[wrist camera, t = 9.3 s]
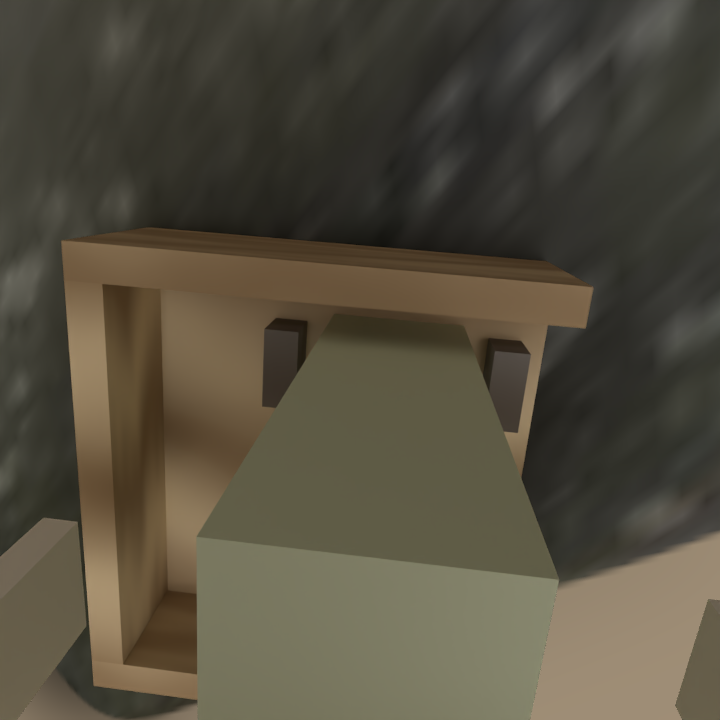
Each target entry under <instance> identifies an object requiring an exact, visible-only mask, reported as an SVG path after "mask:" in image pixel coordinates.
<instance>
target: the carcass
mask: <svg viewBox="0 0 720 720" xmlns="http://www.w3.org/2000/svg"><path fill="white" fill-rule="evenodd" d="M61 244H62V258H63V272H64V285H65V299H66V313H67V326H68V340H69V353H70V367H71V381H72V394H73V408H74V421H75V435H76V449H77V462H78V476H79V490H80V503H81V517H82V530H83V544H84V558H85V571H86V585H87V599H88V612H89V626H90V639H91V653H92V667H93V680H94V686H100V687H107V688H114V689H122V690H129V691H136V692H144V693H151V694H158V695H166V696H173V697H181V698H188V699H195V700H198V691H197V556H196V537H197V535H198V533H199V532H200V530H201V529H202V527H203V525H204V524H205V522H206V520H207V519H208V517H209V516H210V514H211V512H212V511H213V509H214V507H215V506H216V504H217V503H218V501H219V499H220V498H221V496H222V495H223V493H224V491H225V490H226V488H227V486H228V485H229V483H230V482H231V480H232V478H233V477H234V475H235V473H236V472H237V470H238V469H239V467H240V465H241V464H242V462H243V461H244V459H245V457H246V456H247V454H248V452H249V451H250V449H251V448H252V446H253V444H254V443H255V441H256V440H257V438H258V436H259V435H260V433H261V431H262V430H263V428H264V427H265V425H266V423H267V422H268V420H269V418H270V417H271V415H272V414H273V412H274V410H275V409H276V407H277V406H278V404H279V402H280V401H281V399H282V397H283V396H284V394H285V393H286V391H287V389H288V388H289V386H290V384H291V383H292V381H293V380H294V378H295V376H296V375H297V373H298V372H299V370H300V368H301V367H302V365H303V363H304V362H305V360H306V359H307V357H308V355H309V354H310V352H311V351H312V349H313V347H314V346H315V344H316V342H317V341H318V339H319V338H320V336H321V334H322V333H323V331H324V329H325V328H326V326H327V325H328V323H329V321H330V320H331V318H332V317H333V315H334V314H343V315H354V316H365V317H375V318H386V319H397V320H408V321H418V322H429V323H440V324H451V325H461V326H464V327H465V329H466V332H467V335H468V337H469V340H470V343H471V345H472V348H473V351H474V353H475V356H476V359H477V362H478V364H479V367H480V370H481V372H482V375H483V378H484V380H485V383H486V386H487V388H488V391H489V394H490V396H491V399H492V402H493V404H494V407H495V410H496V412H497V415H498V418H499V420H500V423H501V426H502V428H503V431H504V434H505V436H506V439H507V442H508V444H509V447H510V450H511V452H512V455H513V458H514V460H515V463H516V466H517V468H518V471H519V474H520V476H522V470H523V465H524V459H525V453H526V447H527V442H528V436H529V430H530V425H531V419H532V413H533V407H534V402H535V396H536V390H537V384H538V379H539V373H540V367H541V361H542V356H543V350H544V344H545V339H546V333H547V327H548V325H554V326H565V327H576V328H586V324H587V318H588V313H589V308H590V303H591V298H592V293H593V288H594V287H592V286H591V285H589V284H587V283H585V282H583V281H582V280H580V279H578V278H576V277H574V276H572V275H571V274H569V273H567V272H565V271H563V270H562V269H560V268H558V267H556V266H554V265H552V264H551V263H549V262H547V261H538V260H526V259H514V258H503V257H491V256H479V255H468V254H456V253H444V252H433V251H421V250H409V249H397V248H386V247H374V246H362V245H351V244H339V243H327V242H316V241H304V240H292V239H280V238H269V237H257V236H245V235H234V234H222V233H210V232H199V231H187V230H175V229H163V228H152V227H147V228H140V229H134V230H127V231H120V232H114V233H107V234H100V235H94V236H87V237H81V238H74V239H67V240H61Z"/></svg>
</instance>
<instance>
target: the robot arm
mask: <svg viewBox="0 0 720 720" xmlns="http://www.w3.org/2000/svg"><path fill="white" fill-rule="evenodd" d="M85 627H86V615H85V603H84V591H83V580H82V568H81V556H80V545H79V533H78V522H75V521H66V520H58V519H50V518H43V519H42V520H40V521H39V522H38V523H37V524H36V525H35V526H34V527H33V528H32V529H30V530H29V531H28V532H27V533H26V534H25V535H24V536H23V537H22V538H21V539H19V540H18V541H17V542H16V543H15V544H14V545H13V546H12V547H11V548H10V549H8V550H7V551H6V552H5V553H4V554H3V555H2V556H1V557H0V720H17V719H18V717H19V716H20V715H21V714H22V712H23V711H24V709H25V708H26V707H27V705H28V704H29V702H30V701H31V700H32V699H33V697H34V696H35V695H36V693H37V692H38V691H39V689H40V688H41V687H42V685H43V684H44V683H45V681H46V680H47V678H48V677H49V676H50V674H51V673H52V672H53V670H54V669H55V668H56V666H57V665H58V664H59V662H60V661H61V660H62V658H63V657H64V655H65V654H66V653H67V651H68V650H69V649H70V647H71V646H72V645H73V643H74V642H75V641H76V639H77V638H78V637H79V635H80V634H81V633H82V631H83V630H84V628H85ZM675 706H676V708H677V710H678V712H679V714H680V716H681V718H682V720H720V601H719V600H711V599H709V600H708V602H707V605H706V608H705V611H704V615H703V618H702V621H701V624H700V627H699V631H698V634H697V637H696V640H695V643H694V647H693V650H692V653H691V656H690V659H689V663H688V666H687V669H686V673H685V676H684V679H683V682H682V685H681V688H680V692H679V695H678V698H677V701H676V705H675Z"/></svg>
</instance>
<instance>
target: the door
mask: <svg viewBox="0 0 720 720" xmlns="http://www.w3.org/2000/svg"><path fill="white" fill-rule="evenodd" d="M196 556H197V691H198V720H530V718H531V712H532V708H533V703H534V698H535V694H536V689H537V684H538V679H539V674H540V670H541V665H542V659H543V655H544V650H545V646H546V641H547V636H548V631H549V626H550V621H551V617H552V611H553V607H554V602H555V597H556V593H557V588H558V583H559V578H558V575H557V573H556V570H555V567H554V565H553V562H552V559H551V557H550V554H549V551H548V549H547V546H546V543H545V541H544V538H543V535H542V533H541V530H540V527H539V525H538V522H537V519H536V517H535V514H534V511H533V509H532V506H531V503H530V501H529V498H528V495H527V493H526V490H525V487H524V484H523V482H522V479H521V476H520V474H519V471H518V468H517V466H516V463H515V460H514V458H513V455H512V452H511V450H510V447H509V444H508V442H507V439H506V436H505V434H504V431H503V428H502V426H501V423H500V420H499V418H498V415H497V412H496V410H495V407H494V404H493V402H492V399H491V396H490V394H489V391H488V388H487V386H486V383H485V380H484V378H483V375H482V372H481V370H480V367H479V364H478V362H477V359H476V356H475V353H474V351H473V348H472V345H471V343H470V340H469V337H468V335H467V332H466V329H465V327H464V326H461V325H451V324H440V323H429V322H418V321H408V320H397V319H386V318H375V317H365V316H354V315H343V314H334V315H333V317H332V318H331V320H330V321H329V323H328V325H327V326H326V328H325V329H324V331H323V333H322V334H321V336H320V338H319V339H318V341H317V342H316V344H315V346H314V347H313V349H312V351H311V352H310V354H309V355H308V357H307V359H306V360H305V362H304V363H303V365H302V367H301V368H300V370H299V372H298V373H297V375H296V376H295V378H294V380H293V381H292V383H291V384H290V386H289V388H288V389H287V391H286V393H285V394H284V396H283V397H282V399H281V401H280V402H279V404H278V406H277V407H276V409H275V410H274V412H273V414H272V415H271V417H270V418H269V420H268V422H267V423H266V425H265V427H264V428H263V430H262V431H261V433H260V435H259V436H258V438H257V440H256V441H255V443H254V444H253V446H252V448H251V449H250V451H249V452H248V454H247V456H246V457H245V459H244V461H243V462H242V464H241V465H240V467H239V469H238V470H237V472H236V473H235V475H234V477H233V478H232V480H231V482H230V483H229V485H228V486H227V488H226V490H225V491H224V493H223V495H222V496H221V498H220V499H219V501H218V503H217V504H216V506H215V507H214V509H213V511H212V512H211V514H210V516H209V517H208V519H207V520H206V522H205V524H204V525H203V527H202V529H201V530H200V532H199V533H198V535H197V537H196Z"/></svg>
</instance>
